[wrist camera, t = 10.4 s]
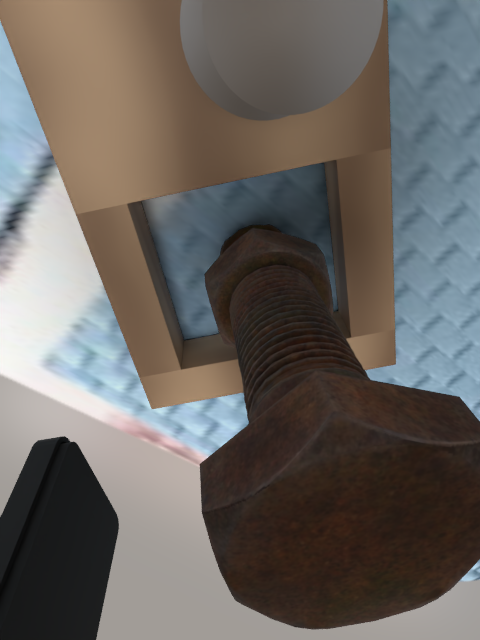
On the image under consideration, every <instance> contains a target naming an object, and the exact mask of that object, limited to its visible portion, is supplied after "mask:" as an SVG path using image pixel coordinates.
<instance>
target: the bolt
mask: <svg viewBox="0 0 480 640" xmlns="http://www.w3.org/2000/svg"><path fill="white" fill-rule="evenodd" d="M205 285H206V290H207V293H208V297H209V301H210V304H211V308H212V311H213V314H214V317H215V321H216V324H217V327H218V330H219V333H220V336H221V338H222V341H223V343H224V344H226V345H228V346H231V347H233V348H236V350H237V356H238V364H239V368H240V372H241V377H242V383H243V392H244V400H245V403H246V410H247V417H248V420H249V424H248V426H246V427H245V428H244V429H243V430H241V431H240V432H239V433H238V434H236V435H235V436H234V437H233V438H232V439H230V440H229V441H228V442H227V443H225V444H224V445H223V446H222V447H220V448H219V449H218V450H217V451H215V452H214V453H213V454H212V455H211V456H209V457H208V458H207V459H206V460H204V461H203V462H202V463H201V464H200V478H201V501H202V514H203V518H204V521H205V525H206V528H207V532H208V536H209V539H210V543H211V546H212V549H213V552H214V555H215V558H216V561H217V563H218V567H219V569H220V572H221V574H222V576H223V578H224V580H225V582H226V584H227V586H228V588H229V590H230V592H231V594H232V596H233V597H234V599H235V600H236V601H237V602H239V603H241V604H243V605H244V606H247V607H249V608H251V609H253V610H255V611H257V612H259V613H261V614H263V615H265V616H267V617H269V618H272V619H274V620H277V621H279V622H282V623H285V624H288V625H291V626H294V627H299V628H307V629H330V628H336V627H342V626H347V625H354V624H359V623H365V622H371V621H376V620H379V619H383V618H386V617H389V616H392V615H396V614H399V613H403V612H406V611H410V610H413V609H416V608H420V607H422V606H424V605H426V604H428V603H430V602H432V601H434V600H436V599H438V598H439V597H440V596H442V595H443V594H445V593H446V592H447V591H449V590H450V589H451V588H452V587H454V586H455V584H456V583H457V582H458V581H459V580H460V579H461V578H462V577H463V576H464V575H465V574H466V573H467V572H468V571H469V570H470V569H471V568H472V567H473V566H474V565H475V564H476V563H477V562H478V560H479V559H480V421H479V420H478V419H477V418H476V417H475V415H474V414H473V413H472V412H471V410H470V409H469V408H468V407H467V406H466V404H465V403H464V402H463V401H462V400H461V398H460V397H457V396H452V395H446V394H441V393H436V392H431V391H425V390H420V389H415V388H410V387H404V386H399V385H394V384H388V383H383V382H378V381H373V380H370V379H369V377H368V376H367V373H366V371H365V370H364V369H363V367H362V365H361V363H360V362H359V360H358V359H357V358H356V356H355V354H354V351H353V350H352V349H351V347H350V345H349V343H348V342H347V340H346V338H345V336H344V335H343V333H342V331H341V330H340V328H339V326H338V324H337V323H336V321H335V320H334V318H333V299H332V290H331V285H330V280H329V275H328V270H327V266H326V262H325V258H324V254H323V253H322V252H321V250H320V249H319V248H318V246H317V245H316V244H314V243H311V242H309V241H306V240H303V239H300V238H297V237H294V236H290V235H287V234H283V233H282V232H281V231H279V230H278V229H277V228H275V227H274V226H272V225H269V224H267V225H251V226H248V227H245V228H243V229H240V230H238V231H237V232H236V233H235V234H234V235H232V236H231V237H230V238H229V239H227V240H226V241H225V242H224V244H223V246H222V248H221V252H220V257H219V258H218V259H217V260H216V261H215V262H214V263H213V265H212V266H211V267H210V268H209V270H208V271H207V272H206V273H205Z"/></svg>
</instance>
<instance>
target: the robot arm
mask: <svg viewBox="0 0 480 640" xmlns="http://www.w3.org/2000/svg"><path fill="white" fill-rule="evenodd" d="M118 529H119V523H118V517H117V514H116V512H115V510H114V509H113V507H112V505H111V503H110V501H109V500H108V498H107V496H106V495H105V492H104V491H103V489H102V487H101V485H100V484H99V482H98V480H97V478H96V476H95V475H94V473H93V471H92V469H91V468H90V466H89V464H88V462H87V460H86V459H85V457H84V455H83V454H82V452H81V450H80V448H79V446H78V445H77V444H76V443H75V442H70V441H69V440H68V438H66V437H57V438H51V439H45V440H39V441H37V442H36V443H35V444H34V445H33V447H32V449H31V451H30V453H29V456H28V458H27V460H26V462H25V464H24V467H23V469H22V471H21V473H20V475H19V478H18V480H17V482H16V484H15V487H14V489H13V491H12V493H11V495H10V498H9V500H8V502H7V505H6V507H5V509H4V511H3V513H2V515H1V517H0V640H96V637H97V632H98V627H99V622H100V617H101V613H102V607H103V603H104V598H105V593H106V588H107V583H108V578H109V573H110V569H111V564H112V559H113V554H114V549H115V544H116V540H117V535H118Z"/></svg>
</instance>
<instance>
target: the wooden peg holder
mask: <svg viewBox="0 0 480 640" xmlns="http://www.w3.org/2000/svg"><path fill="white" fill-rule="evenodd" d="M0 21H1V23H2V26H3V28H4V31H5V33H6V36H7V39H8V41H9V44H10V46H11V49H12V51H13V54H14V56H15V59H16V62H17V64H18V67H19V69H20V72H21V74H22V77H23V80H24V82H25V85H26V87H27V90H28V92H29V95H30V98H31V100H32V103H33V105H34V108H35V110H36V113H37V116H38V118H39V121H40V123H41V126H42V128H43V131H44V134H45V136H46V139H47V141H48V144H49V146H50V149H51V151H52V154H53V157H54V159H55V162H56V164H57V167H58V169H59V172H60V175H61V177H62V180H63V182H64V185H65V187H66V190H67V193H68V195H69V198H70V200H71V203H72V205H73V208H74V211H75V213H76V216H77V218H78V221H79V223H80V226H81V228H82V231H83V234H84V236H85V239H86V241H87V244H88V246H89V249H90V252H91V254H92V257H93V259H94V262H95V264H96V267H97V270H98V272H99V275H100V277H101V280H102V282H103V285H104V288H105V290H106V293H107V295H108V298H109V300H110V303H111V306H112V308H113V311H114V313H115V316H116V318H117V321H118V323H119V326H120V329H121V331H122V334H123V336H124V339H125V341H126V344H127V347H128V349H129V352H130V354H131V357H132V359H133V362H134V365H135V367H136V370H137V372H138V375H139V377H140V380H141V383H142V385H143V388H144V390H145V393H146V395H147V398H148V401H149V403H150V406H151V408H152V409H156V408H161V407H167V406H172V405H178V404H183V403H188V402H194V401H199V400H205V399H210V398H216V397H221V396H227V395H232V394H237V393H243V383H242V377H241V372H240V368H239V364H238V356H237V350H236V348H233V347H231V346H228V345H226V344H224V343H223V341H222V338H221V336H220V334H216V335H211V336H206V337H200V338H195V339H190V340H185V341H184V339H183V336H182V332H181V329H180V326H179V323H178V319H177V316H176V313H175V310H174V306H173V303H172V300H171V297H170V294H169V290H168V287H167V284H166V281H165V277H164V274H163V271H162V268H161V264H160V261H159V258H158V255H157V252H156V248H155V245H154V242H153V239H152V235H151V232H150V229H149V226H148V223H147V219H146V216H145V213H144V210H143V206H142V203H141V201H142V200H147V199H151V198H156V197H161V196H166V195H170V194H175V193H180V192H185V191H189V190H194V189H199V188H204V187H208V186H213V185H218V184H223V183H227V182H232V181H237V180H242V179H246V178H251V177H256V176H261V175H265V174H270V173H275V172H280V171H284V170H289V169H294V168H299V167H303V166H308V165H313V164H318V163H322V162H324V166H325V177H326V187H327V198H328V208H329V218H330V229H331V239H332V249H333V260H334V270H335V280H336V291H337V301H338V311H336V312H333V318H334V320H335V321H336V323H337V324H338V326H339V328H340V330H341V331H342V333H343V335H344V336H345V338H346V340H347V342H348V343H349V345H350V347H351V349H352V350H353V351H354V354H355V356H356V358H357V359H358V360H359V362H360V363H361V365H362V367H363V369H364V370H368V369H373V368H379V367H384V366H390V365H395V364H396V353H395V310H394V267H393V224H392V181H391V138H390V95H389V53H388V10H387V0H0Z"/></svg>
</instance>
